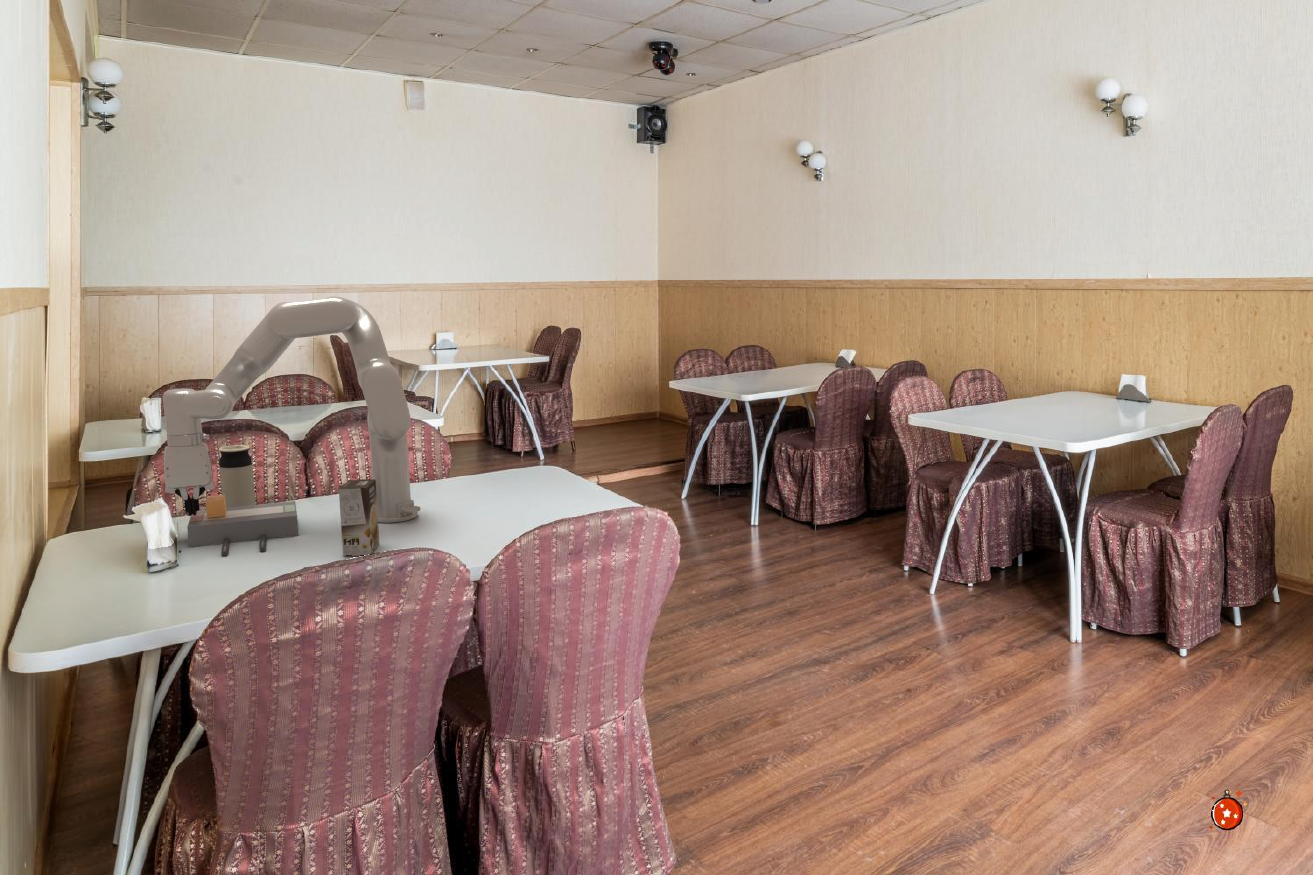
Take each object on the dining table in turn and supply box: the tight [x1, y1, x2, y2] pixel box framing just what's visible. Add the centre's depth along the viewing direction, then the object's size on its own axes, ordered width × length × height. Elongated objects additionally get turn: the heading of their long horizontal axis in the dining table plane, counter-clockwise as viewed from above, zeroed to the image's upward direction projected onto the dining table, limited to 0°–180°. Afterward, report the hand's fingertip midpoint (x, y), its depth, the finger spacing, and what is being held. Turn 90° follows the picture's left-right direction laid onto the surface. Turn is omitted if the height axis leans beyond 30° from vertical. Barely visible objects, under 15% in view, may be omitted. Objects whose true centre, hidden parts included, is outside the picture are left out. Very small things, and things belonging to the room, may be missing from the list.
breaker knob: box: [205, 494, 227, 518], centre depth 216 cm, size 4×6×4 cm, turn 23°
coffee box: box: [338, 478, 380, 557], centre depth 203 cm, size 9×6×16 cm
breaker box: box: [186, 500, 299, 557], centre depth 214 cm, size 24×27×5 cm
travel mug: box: [218, 444, 257, 508], centre depth 237 cm, size 8×8×18 cm
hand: (192, 514), depth 214 cm, fingers closed
